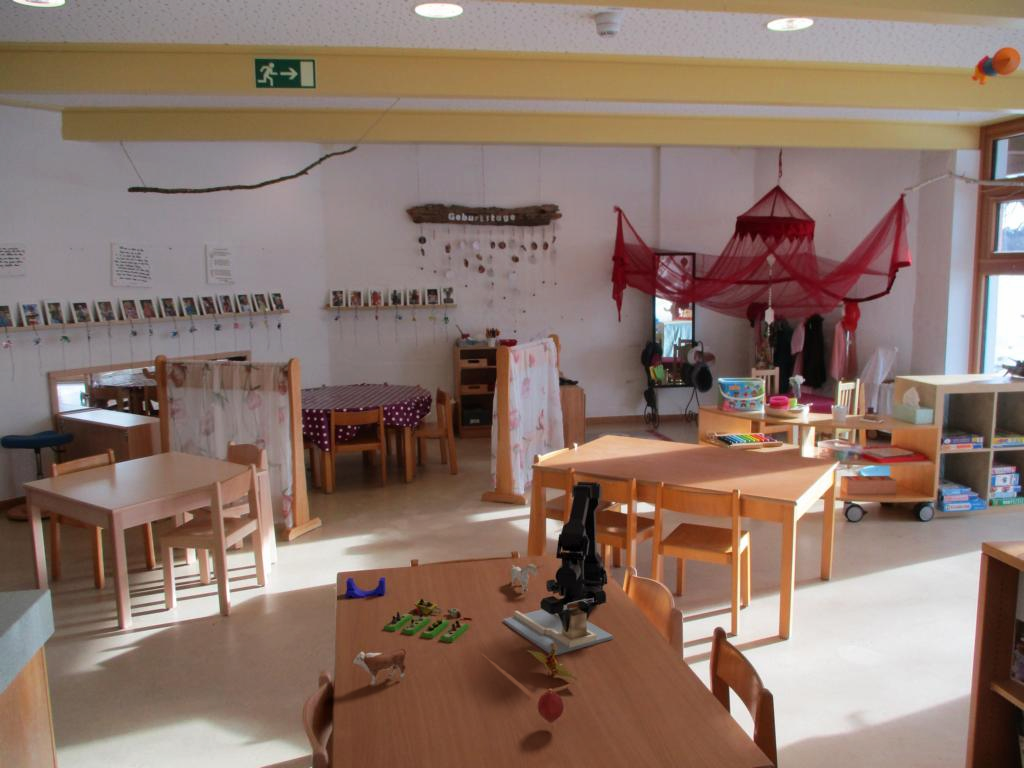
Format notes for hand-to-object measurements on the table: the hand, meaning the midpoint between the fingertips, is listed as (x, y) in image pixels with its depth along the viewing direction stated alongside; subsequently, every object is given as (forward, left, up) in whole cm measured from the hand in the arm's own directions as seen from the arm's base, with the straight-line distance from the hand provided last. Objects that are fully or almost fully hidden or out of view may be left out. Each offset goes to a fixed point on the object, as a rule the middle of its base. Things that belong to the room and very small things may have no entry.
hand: (574, 629), depth 223 cm
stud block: (0, 0, -2) cm, 2 cm away
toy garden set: (+28, -33, -4) cm, 43 cm away
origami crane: (+17, +10, -4) cm, 21 cm away
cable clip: (+38, -64, -4) cm, 74 cm away
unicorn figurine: (-8, -40, -4) cm, 41 cm away
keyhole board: (0, -9, -4) cm, 10 cm away
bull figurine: (+54, -7, -4) cm, 55 cm away
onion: (+29, +33, -4) cm, 44 cm away
